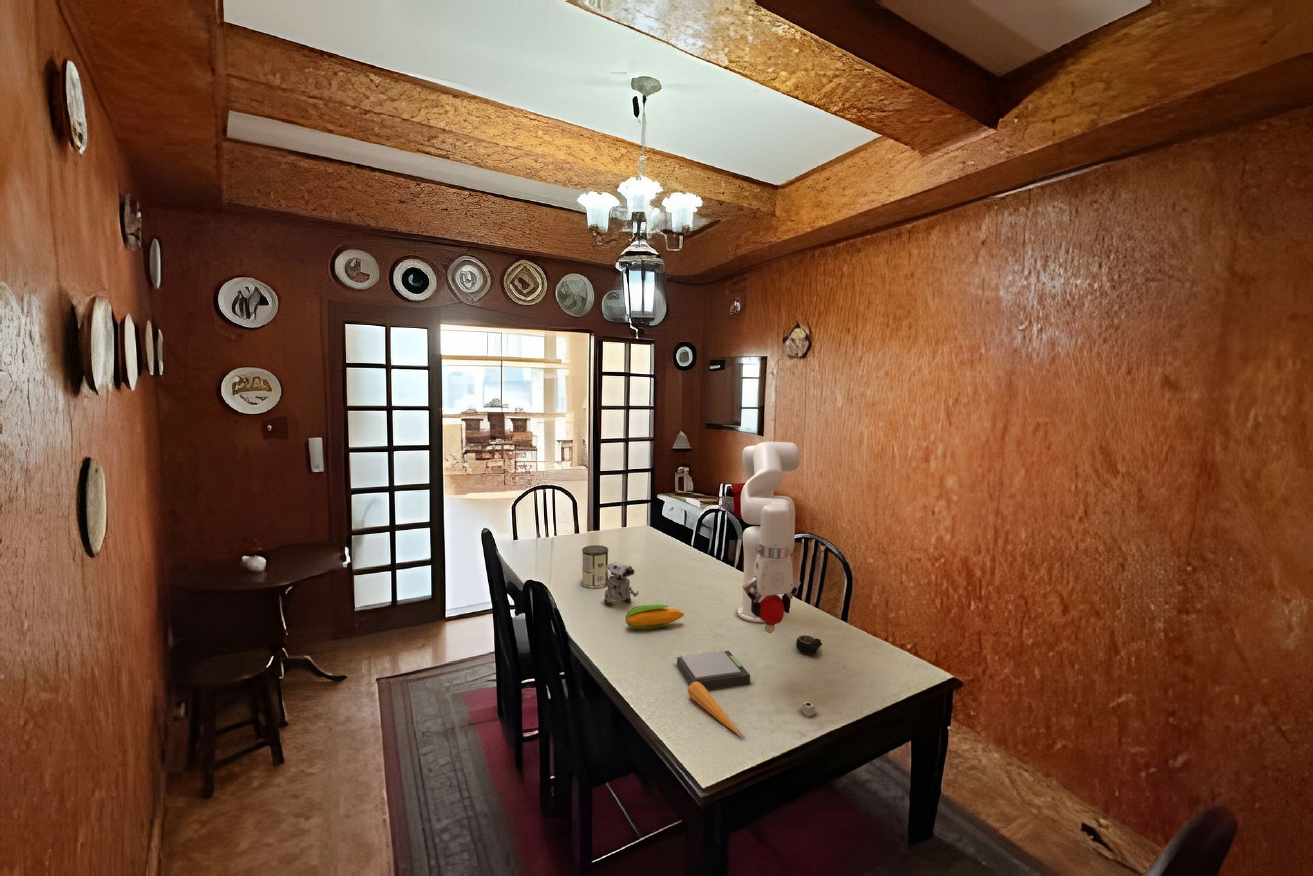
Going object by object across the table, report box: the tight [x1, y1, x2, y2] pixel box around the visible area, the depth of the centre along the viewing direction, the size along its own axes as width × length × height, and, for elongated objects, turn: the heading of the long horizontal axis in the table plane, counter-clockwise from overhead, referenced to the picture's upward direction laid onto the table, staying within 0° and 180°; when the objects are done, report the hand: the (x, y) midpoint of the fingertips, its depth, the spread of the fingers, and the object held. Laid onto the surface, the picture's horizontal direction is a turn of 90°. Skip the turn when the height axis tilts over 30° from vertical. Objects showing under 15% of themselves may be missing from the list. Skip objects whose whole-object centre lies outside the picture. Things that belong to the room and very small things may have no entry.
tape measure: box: [795, 634, 823, 656], centre depth 169 cm, size 7×7×4 cm
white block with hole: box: [801, 701, 816, 718], centre depth 137 cm, size 2×2×2 cm
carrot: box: [687, 681, 742, 738], centre depth 135 cm, size 20×4×4 cm, turn 31°
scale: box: [676, 650, 751, 691], centre depth 154 cm, size 16×14×3 cm
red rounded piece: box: [759, 594, 785, 634], centre depth 151 cm, size 9×7×10 cm
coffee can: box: [581, 544, 609, 589], centre depth 221 cm, size 10×10×14 cm
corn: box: [625, 604, 685, 630], centre depth 183 cm, size 7×8×20 cm
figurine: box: [603, 561, 640, 607], centre depth 200 cm, size 9×12×15 cm
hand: (770, 612), depth 151 cm, fingers closed on red rounded piece, 8 cm apart
